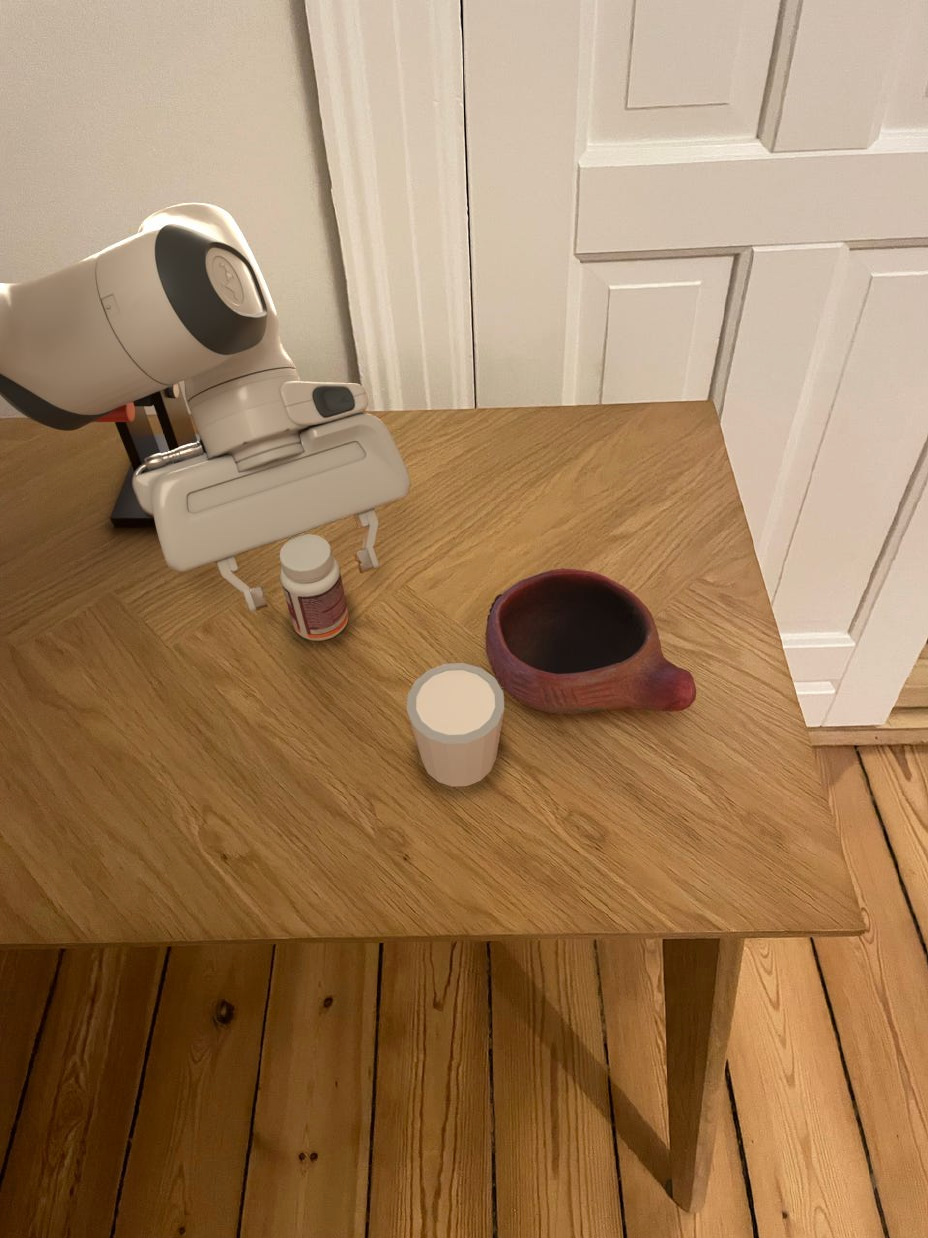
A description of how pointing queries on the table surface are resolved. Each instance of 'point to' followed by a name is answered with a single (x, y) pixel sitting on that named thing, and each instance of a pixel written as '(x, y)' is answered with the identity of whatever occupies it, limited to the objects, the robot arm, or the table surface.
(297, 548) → the pill bottle
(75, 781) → the table surface
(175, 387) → the clamp
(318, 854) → the table surface
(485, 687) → the shot glass
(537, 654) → the bowl
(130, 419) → the clamp lever
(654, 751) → the table surface
